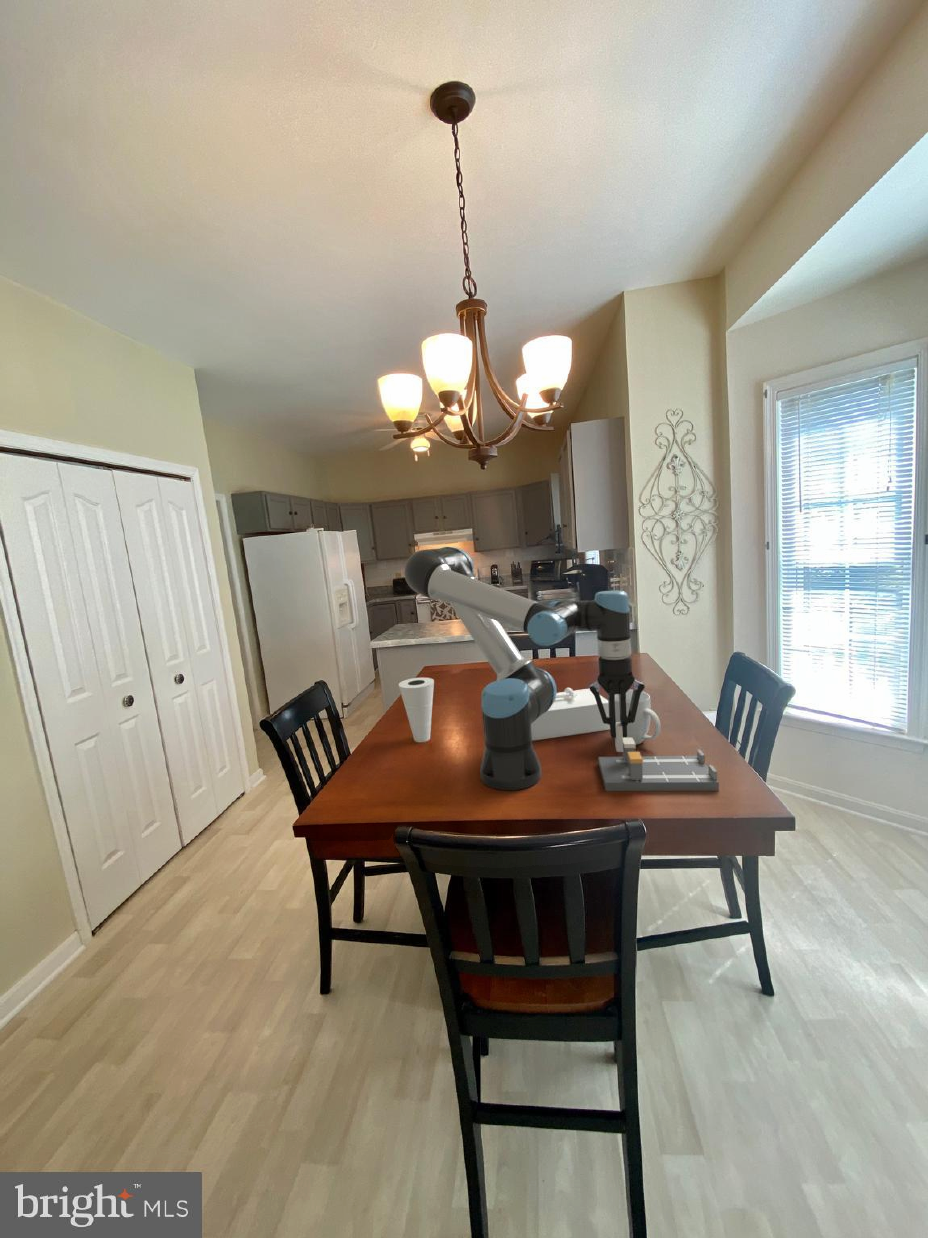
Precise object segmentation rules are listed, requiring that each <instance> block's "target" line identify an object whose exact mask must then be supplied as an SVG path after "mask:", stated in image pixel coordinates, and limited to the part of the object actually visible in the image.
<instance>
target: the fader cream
mask: <svg viewBox="0 0 928 1238" xmlns="http://www.w3.org/2000/svg"><path fill="white" fill-rule="evenodd" d="M627 752H636V744H635V742H634V740H633V738H623V752H622V757H623V759H624V761H625V763H628V754H627Z"/></svg>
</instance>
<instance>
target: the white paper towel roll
mask: <svg viewBox="0 0 928 1238" xmlns="http://www.w3.org/2000/svg"><path fill="white" fill-rule="evenodd" d="M434 685H435V680H434V679H433V678H431V677H414V678H413V677H412V678H408V679H405V680H403V681H400V682H399V683H398V687H399V691H400V694H401V697H402V701H403V704H404V710H405V713H406V716H407V719H408V722H409V727H410V730H411V733H412V737H413V740H414V742H416V743H426V742H428V741H429V740H430V739H431V730H432V714H433V713H432V712H433V703H434V702H433V699H434V690H435V689H434V687H435V686H434Z"/></svg>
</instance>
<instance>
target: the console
mask: <svg viewBox="0 0 928 1238" xmlns="http://www.w3.org/2000/svg"><path fill="white" fill-rule="evenodd" d="M641 757H642V759H643V763H642V773H643V780H631V777H630V774H629V768H628V763H625V761H624V759H623V756H598V766H599V770H600V775H601V777H602V781H603V785H604V788H605V791H606V792H616V791H617V792H627V791H628V792H642V791H643V792H649V791H650V792H651V791H652V792H653V791H654V792H662V791H663V792H667V791H668V792H672V791H673V792H674V791H675V792H676V791H677V792H678V791H679V792H680V791H682V792H684V791H685V792H688V791H689V792H691V791H692V792H693V791H695V792H699V791H701V792H703V791H704V792H705V791H706V792H708V791H709V792H710V791H711V792H712V791H715V792H716V791H717V792H718V791H720V782H719V781H718V771H717V769H716V768H715V767H714V766H713V765H712V764H709V765H707V764H706V762H705V761H706V757H705V753H704V752H703V751H702V749H696V755H656V756H655V755H654V756H653V755H652V756H651V755H650V756H649V755H648V756H646V755H645V756H643V755H641Z"/></svg>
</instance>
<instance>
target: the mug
mask: <svg viewBox="0 0 928 1238" xmlns="http://www.w3.org/2000/svg"><path fill="white" fill-rule="evenodd" d="M633 690H634V689H629V690H628V691H627V692H626V713H627V716H628V713H629V708H630V703H631V699H632V694H633ZM608 706H609V705H608ZM651 707H652V706H651V696H650V694H648V693H647V692H645V691H642V692H641V694H640V699H639V703H638V708H637V712H636V717H635V721H634V722H633V723H629V724H628V725H627V737H624V738H633V740H634V742H635V744H636V745H640V744H642V743H643V742H644V741H645V740H654V739H657V737H659V735H660V734H661V728H662V727H661V726H662V725H661V721H660V718H659V716H658V715H657V714H656V712H655V711H653V709H651ZM615 718H616V722H621V721H620V707H619V694H615ZM651 718H652V720H653V723H654V728H655V730H654V734H652V735H648V733H649V730H650V724H651Z"/></svg>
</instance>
